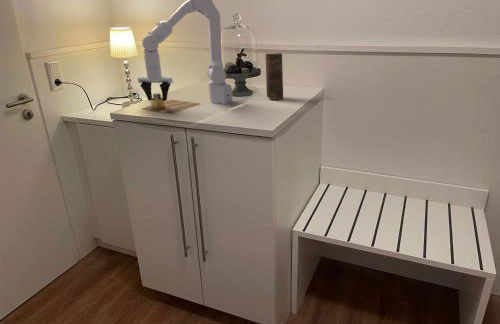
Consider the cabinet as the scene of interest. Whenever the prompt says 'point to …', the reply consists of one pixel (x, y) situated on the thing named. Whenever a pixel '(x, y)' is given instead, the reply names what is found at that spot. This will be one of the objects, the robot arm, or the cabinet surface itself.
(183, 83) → the cabinet surface
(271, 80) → the candle
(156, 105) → the wooden barrel ring
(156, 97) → the steel piston
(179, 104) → the walnut board
